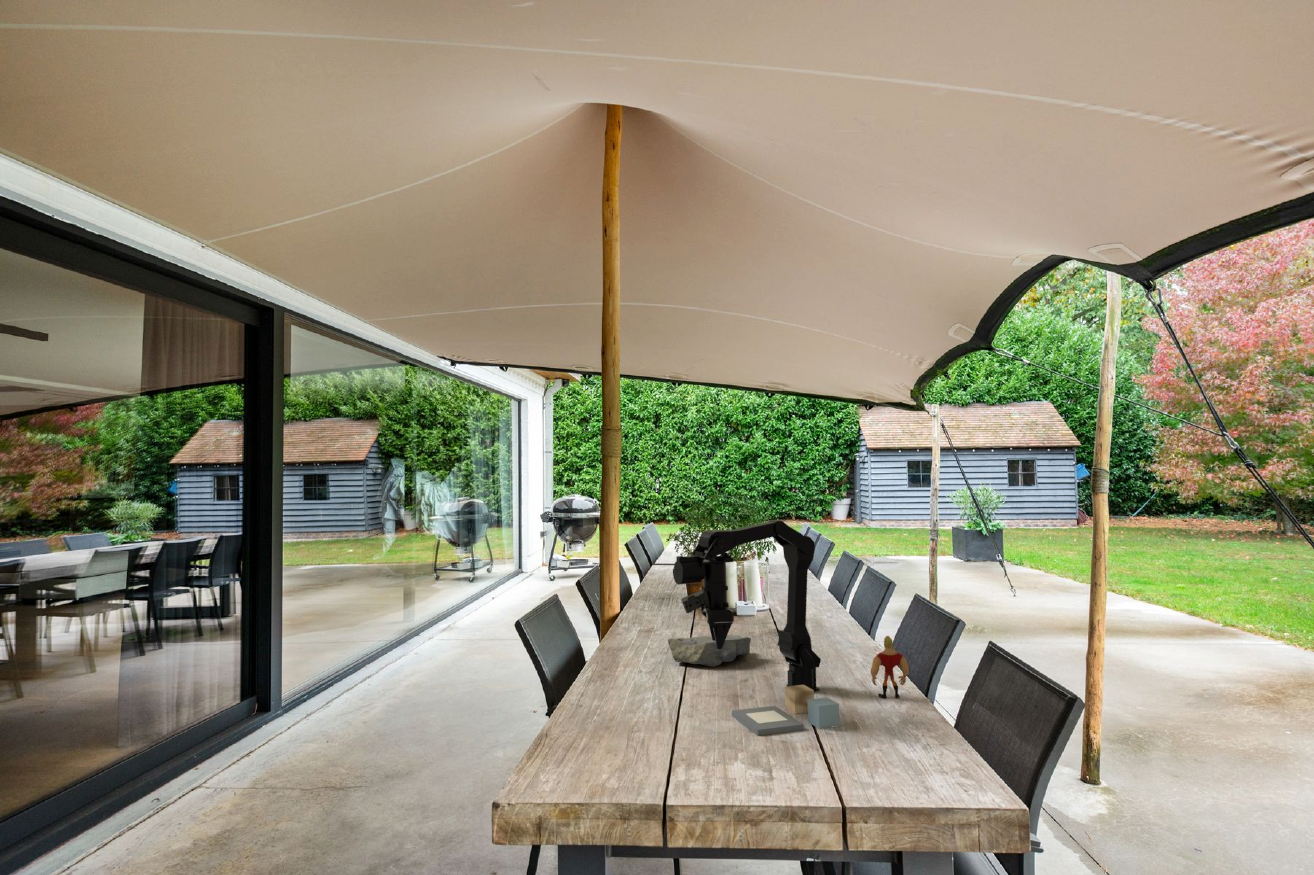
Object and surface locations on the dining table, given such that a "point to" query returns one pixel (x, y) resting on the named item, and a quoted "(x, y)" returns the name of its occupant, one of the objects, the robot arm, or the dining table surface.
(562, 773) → the dining table surface
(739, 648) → the stone
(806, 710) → the oak block
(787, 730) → the board
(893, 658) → the action figure
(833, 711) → the blue block
